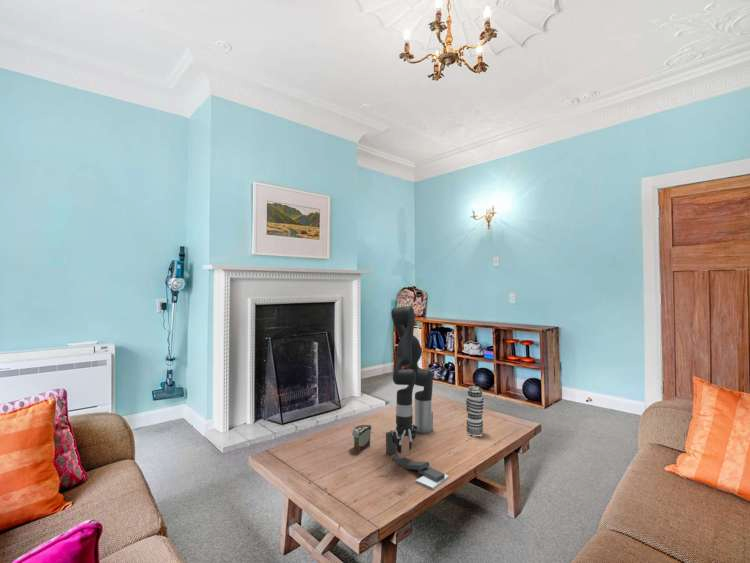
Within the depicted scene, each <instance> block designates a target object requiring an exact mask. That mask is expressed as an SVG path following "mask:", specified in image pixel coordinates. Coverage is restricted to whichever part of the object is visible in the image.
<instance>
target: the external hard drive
mask: <svg viewBox="0 0 750 563" xmlns="http://www.w3.org/2000/svg"><path fill="white" fill-rule="evenodd" d="M444 474H445V478H443V479H441V480H440V481H438V482H436V481H434V480H432V479H430V478H428V477H426V476H424V475H422V476H420V477H419V478H417V479H415V483H416V484H418V485H420V486H421V487H422V486H423V487H424V488H427V489H429V490H431V491H433V490H435V489H436V488H437V487H439V486H440V485H441V484H442V483H444V482H445V481H447V480H448V479H449V478H450V476H449V474H446V473H444Z"/></svg>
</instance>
